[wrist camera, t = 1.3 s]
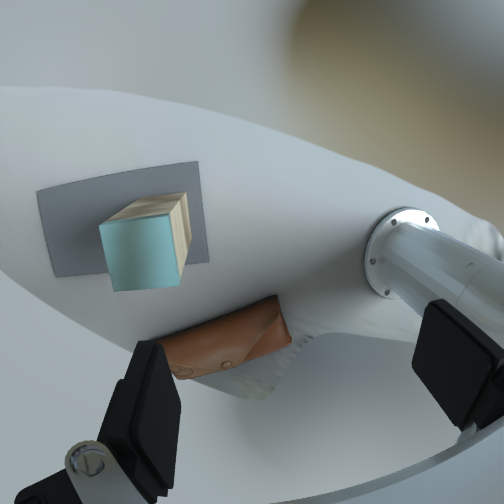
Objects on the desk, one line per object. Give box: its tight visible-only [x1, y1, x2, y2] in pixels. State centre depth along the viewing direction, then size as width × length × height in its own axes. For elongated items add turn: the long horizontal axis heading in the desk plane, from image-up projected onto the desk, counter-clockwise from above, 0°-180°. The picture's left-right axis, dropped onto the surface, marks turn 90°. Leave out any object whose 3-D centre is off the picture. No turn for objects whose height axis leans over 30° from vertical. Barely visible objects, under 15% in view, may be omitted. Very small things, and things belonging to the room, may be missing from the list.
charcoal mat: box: [37, 161, 209, 278], centre depth 30 cm, size 20×11×1 cm, turn 94°
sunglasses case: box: [155, 295, 292, 380], centre depth 36 cm, size 18×7×7 cm
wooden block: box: [99, 192, 192, 292], centre depth 25 cm, size 5×5×12 cm
